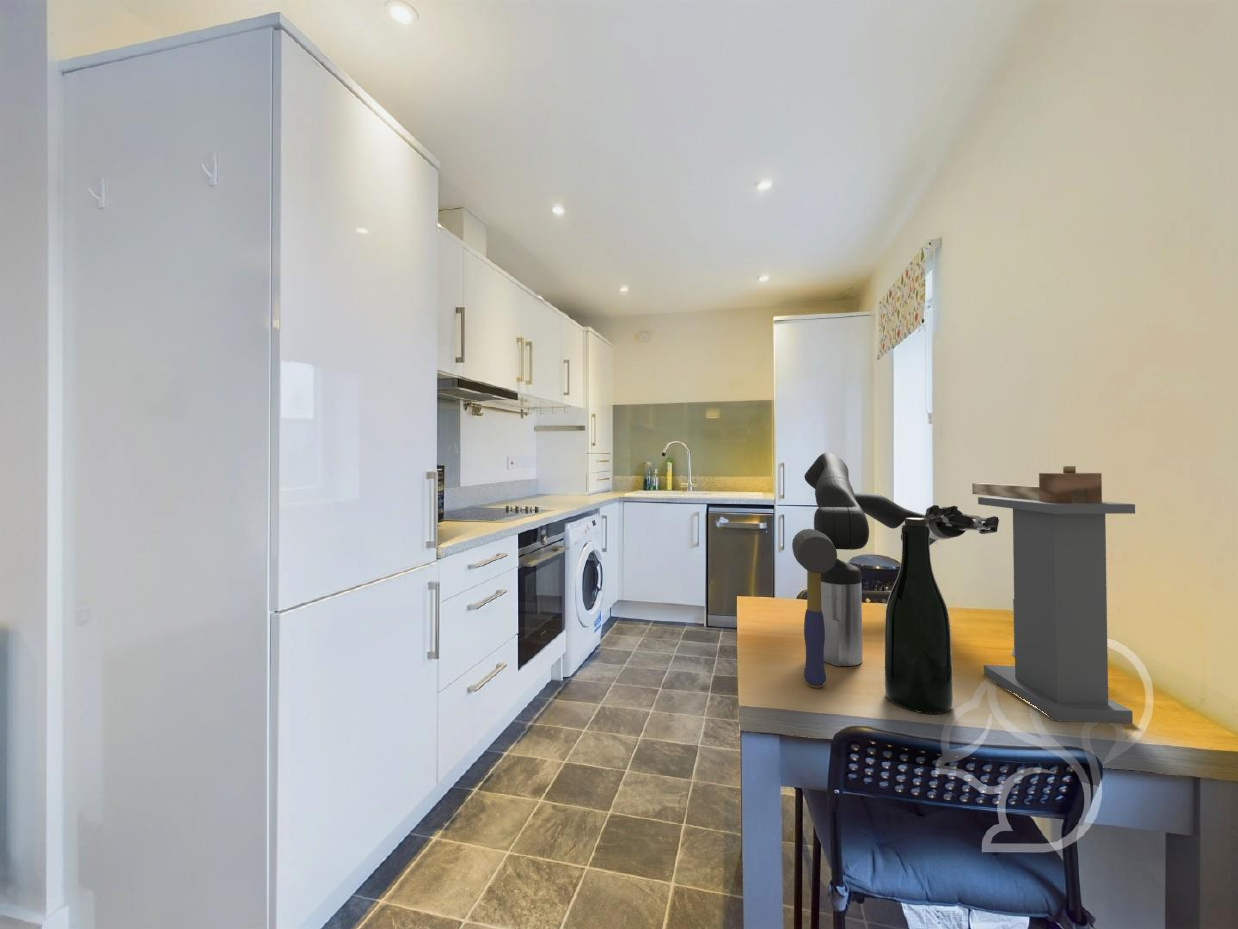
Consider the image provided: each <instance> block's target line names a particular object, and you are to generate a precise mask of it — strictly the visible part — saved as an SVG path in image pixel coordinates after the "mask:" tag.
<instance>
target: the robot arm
mask: <svg viewBox="0 0 1238 929" xmlns="http://www.w3.org/2000/svg"><path fill="white" fill-rule="evenodd" d="M849 473H850V472H849V468H848V465H847V464H846V462H844V461H843V459H842V458H840V457H839V456H838V455H837V454H833V453H831V452H824V453H821V454H819V456H818V457H817V458H816V460H815V461H813V463H812V465H811V466H810V467H809V468H808V470H807V471H806V472H805V473H804V480H805V482H806V483H807V484H808V485H809V486H810V487H812V488H813V489H814V496H815V502H816V503H815V504H816V505H817V507H818V508H817V509H816V510H815V512H814V515H813V529H814V530H817V531H819V532H821V533H823V534H825V535H826V536H827V537H828V538H829V539H830V540H831V541H832V543H833V545H834V546H835V548H836V550H844V551H845V550H846V551H847V550H849V551H850V550H851V551H854V550H856V551H857V550H861V549H863V548H865V547H866V545H867V544H868V542H869V539H870V526H869V522H868V518H867V516H869V517H870V518H873V519H874V520H876V521H877V522H878V523H881V524H882V525H883V526H885V527H886V528H889V529H892V530H893V529H897V528H899V527H900V526H901V525H902V524H903V523H905V518H923V519H926V525H927V526H929V529H930V536H929V545H930V546H931V545H932V544H934V543H936V541H939V540H942V541H944V540H947V539H953V538H957V537H960V536H962V535H963V534H965V532H967V531H976V532H977V531H978V534H981V535H986V534H992V533H993V534H994V533H997V532H998V528H999V522H1000V519H999V517H998V516H996V515H994V516H990V517H981V516H980V515H973V514H971V515H970V514H967V513H963V512H962V511H960V510H959V509H958V508H959V507H958V506H956V505H951V506H943V507H940V506H939V505H937V504H934V505H932V506H930V507H928V508H926V510H925V514H923V513H919V512H915V511H913V510H909V509H908V508H905V507H903V506H901V505H899V504H897V503H896V502H894V501H892V500H891V499H889V498H888V497H886V496H883V495H881V494H878V493H869V492H854V490H853V489H854V488H853V487H852V485H851V481H850V478H849V477H850V476H849V475H850V474H849ZM866 515H867V516H866ZM900 540H901V541H902V533H901V534H900ZM862 585H863V584H862V571H861V569H860V568H859V567H858V566H856V565H854V564H851V563H848V562H845V561H843V560H841V559H839V558H837V561H836V563H835V565H834V567H832V568H831V569H830V570H829V571H827V572H824V573H821V609H822V613H823V618H824V626H825V642H824V663H828V664H830V665H833V666H835V667H842V666H843V667H844V666H845V667H848V666H850V667H851V666H857V665H861V664H862V663H863V616H862V614H863V613H862V612H863V606H862V605H863V604H862V603H863V602H862V600H863V599H862V598H863V596H862V594H863V593H862Z"/></svg>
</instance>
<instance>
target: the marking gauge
mask: <svg viewBox="0 0 1238 929" xmlns="http://www.w3.org/2000/svg"><path fill="white" fill-rule="evenodd" d="M1076 471H1077V470H1076V465H1073V466H1072V465H1064V466H1062V472H1039V473H1038V485H1025V484H1022V485H1021V484H1008V483H1007V484H1006V483H1002V484H1001V483H986V482H984V483H983V482H982V483H981V482H978V483H976V482H975V483H974V482H973V483H972V485H971V486H972V487H971V488H972V489H971V491H972V495H978V496H987V497H1010V498H1021V499H1032V500H1039V501H1040V502H1051V503H1102V502H1103V491H1102V490H1103V487H1102V485H1103V484H1102V482H1103V481H1102V477H1103V476H1102V473H1103V472H1076Z"/></svg>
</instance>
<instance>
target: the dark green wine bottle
mask: <svg viewBox="0 0 1238 929" xmlns="http://www.w3.org/2000/svg"><path fill="white" fill-rule="evenodd" d="M900 531H901V534H902V540H901V546H902V547H901V548H902V549H901V561H900V568H899V570H898V575H897V577H896V580H895V582H894V584H893V587H892V589H891V591H890V592H889V593H890V594H889V596H888V599H887V603H886V607H885V620H884V690H885V696H886V697H887V698H888V699H889V700H890V701H891V702H893V703H894V704H895V705H897V706H899V707H902V708H904V709H907V710H909V711H912V712H917V713H923V714H942V713H946V712H948V711H950V710H951V709H952V707H953V703H954V701H953V700H954V694H953V692H954V691H953V689H954V688H953V686H954V684H953V660H952V634H951V632H952V631H951V622H950V615H949V614H950V613H949V612H948V610H949V609H948V607H947V604H946V601H945V599H944V596H943V594H942V593H941V590H940V588H939V586H938V583H937V581H936V578H935V575H934V571H933V566H932V560H931V549H930V546H931V545H929V536H930V529H929V526H927V525H926V519H923V518H905V521H904V524H903V525H902V526H901V529H900Z"/></svg>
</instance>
